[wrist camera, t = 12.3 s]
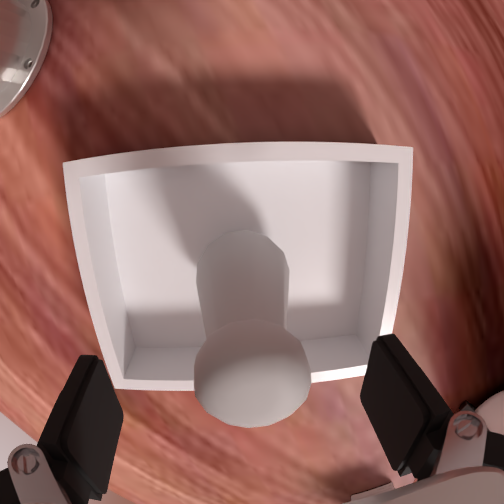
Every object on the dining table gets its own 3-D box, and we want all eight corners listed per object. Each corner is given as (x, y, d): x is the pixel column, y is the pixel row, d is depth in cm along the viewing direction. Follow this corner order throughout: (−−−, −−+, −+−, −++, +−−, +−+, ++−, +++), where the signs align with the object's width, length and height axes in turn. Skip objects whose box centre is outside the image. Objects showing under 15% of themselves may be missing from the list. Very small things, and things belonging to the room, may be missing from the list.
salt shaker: (300, 261, 23) (368, 390, 10) (243, 314, 24) (256, 463, 11) (239, 203, 21) (253, 296, 9) (182, 263, 22) (136, 400, 10)
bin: (95, 156, 20) (62, 162, 15) (377, 144, 21) (413, 147, 16) (130, 349, 25) (114, 388, 21) (361, 336, 26) (382, 371, 22)
